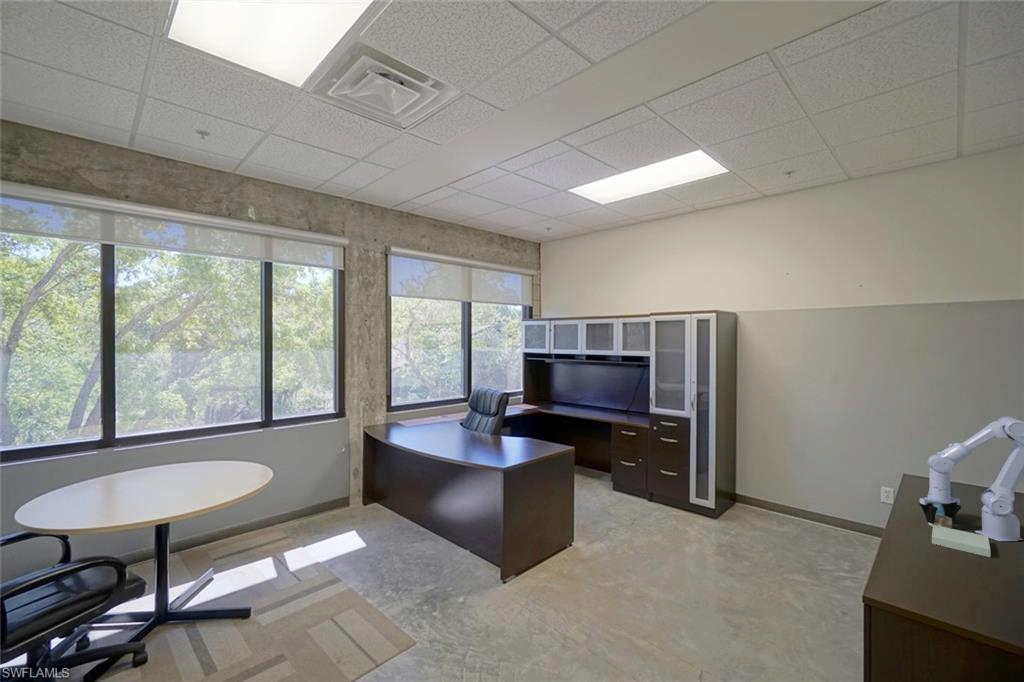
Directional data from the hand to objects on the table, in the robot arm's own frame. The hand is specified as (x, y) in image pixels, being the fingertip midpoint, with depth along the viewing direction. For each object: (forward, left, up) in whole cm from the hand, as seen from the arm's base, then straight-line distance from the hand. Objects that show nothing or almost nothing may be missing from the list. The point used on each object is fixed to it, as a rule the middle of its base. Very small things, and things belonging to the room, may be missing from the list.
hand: (939, 522), depth 167 cm
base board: (+7, +13, -2) cm, 15 cm away
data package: (-9, -7, -2) cm, 12 cm away
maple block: (0, 0, -2) cm, 2 cm away
